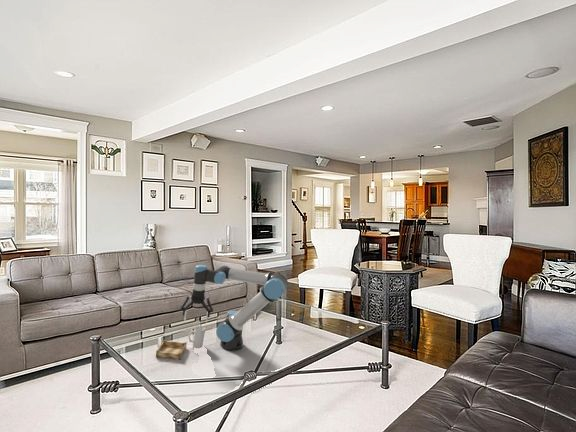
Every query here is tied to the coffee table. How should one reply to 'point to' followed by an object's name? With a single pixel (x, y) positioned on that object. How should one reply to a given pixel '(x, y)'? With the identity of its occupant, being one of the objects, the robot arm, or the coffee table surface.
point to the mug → (197, 336)
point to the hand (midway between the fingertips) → (195, 321)
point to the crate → (171, 350)
